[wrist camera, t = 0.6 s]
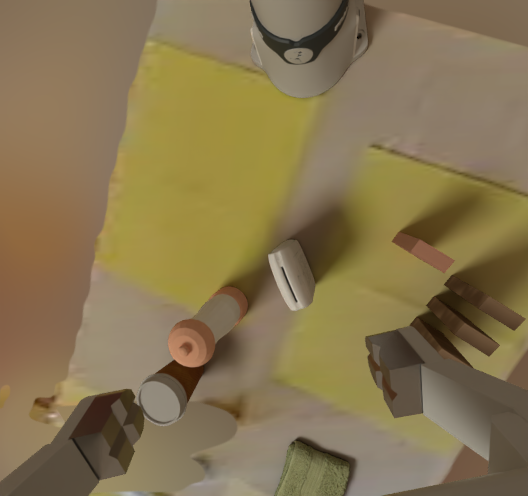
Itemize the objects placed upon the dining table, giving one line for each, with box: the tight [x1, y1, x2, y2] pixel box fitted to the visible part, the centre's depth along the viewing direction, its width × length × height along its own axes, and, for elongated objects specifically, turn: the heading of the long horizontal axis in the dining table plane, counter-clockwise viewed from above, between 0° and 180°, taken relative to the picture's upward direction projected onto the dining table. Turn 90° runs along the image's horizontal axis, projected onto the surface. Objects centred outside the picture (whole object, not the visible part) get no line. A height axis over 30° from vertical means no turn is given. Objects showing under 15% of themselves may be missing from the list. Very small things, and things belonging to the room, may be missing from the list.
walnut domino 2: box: [444, 276, 525, 331], centre depth 40 cm, size 2×5×11 cm, turn 58°
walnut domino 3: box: [426, 297, 500, 356], centre depth 42 cm, size 2×5×11 cm, turn 58°
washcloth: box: [274, 441, 350, 496], centre depth 56 cm, size 13×18×3 cm
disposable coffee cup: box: [137, 360, 204, 426], centre depth 54 cm, size 10×10×12 cm
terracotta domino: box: [392, 232, 455, 273], centre depth 41 cm, size 2×5×11 cm, turn 58°
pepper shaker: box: [168, 286, 248, 367], centre depth 46 cm, size 7×7×19 cm
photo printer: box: [268, 239, 315, 311], centre depth 45 cm, size 10×4×12 cm, turn 23°
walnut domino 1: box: [409, 317, 473, 368], centre depth 43 cm, size 2×5×11 cm, turn 58°
